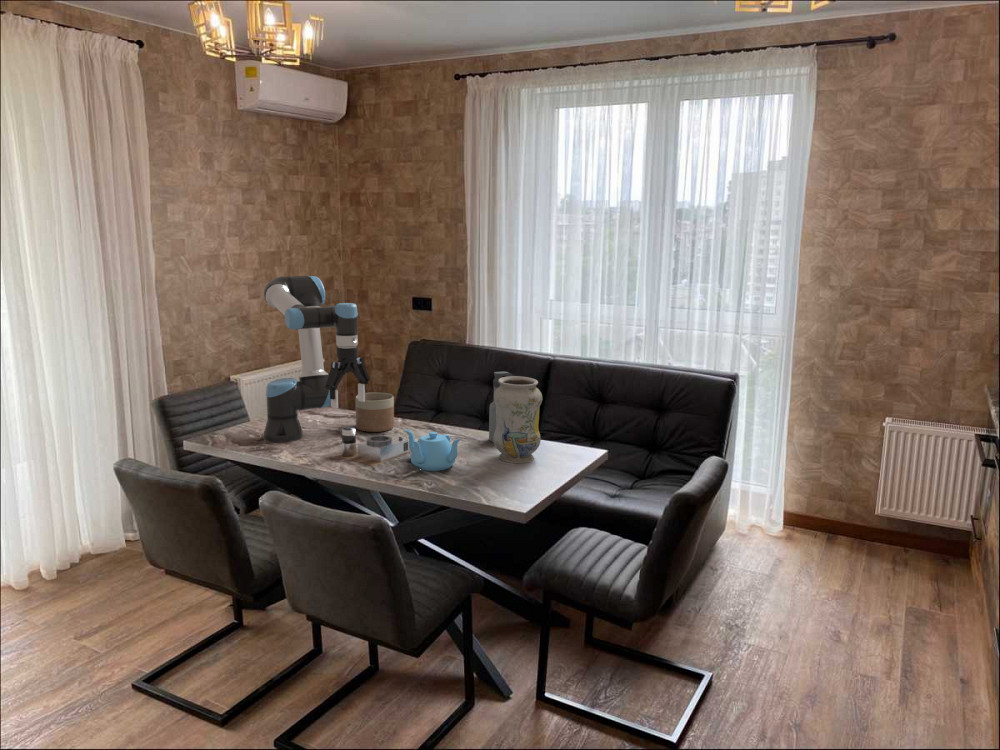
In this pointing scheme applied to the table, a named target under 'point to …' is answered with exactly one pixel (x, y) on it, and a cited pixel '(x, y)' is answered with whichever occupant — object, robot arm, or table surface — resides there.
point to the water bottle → (492, 406)
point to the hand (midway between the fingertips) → (348, 404)
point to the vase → (517, 418)
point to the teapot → (432, 451)
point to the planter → (375, 412)
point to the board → (366, 461)
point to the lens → (348, 441)
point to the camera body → (382, 447)
